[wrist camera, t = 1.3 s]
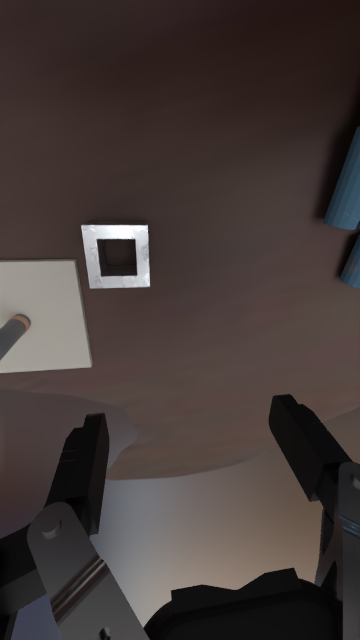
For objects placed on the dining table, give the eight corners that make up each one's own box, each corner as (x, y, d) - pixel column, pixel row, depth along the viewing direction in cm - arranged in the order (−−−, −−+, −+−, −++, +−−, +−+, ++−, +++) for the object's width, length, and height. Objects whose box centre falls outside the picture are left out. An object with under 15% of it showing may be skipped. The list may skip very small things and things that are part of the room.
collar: (90, 220, 27) (81, 225, 23) (146, 221, 28) (147, 225, 24) (97, 276, 30) (90, 288, 26) (148, 275, 31) (149, 286, 27)
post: (-63, 260, 27) (-180, 297, 17) (76, 259, 29) (42, 291, 19) (-20, 369, 33) (-89, 443, 23) (92, 362, 35) (73, 428, 25)
